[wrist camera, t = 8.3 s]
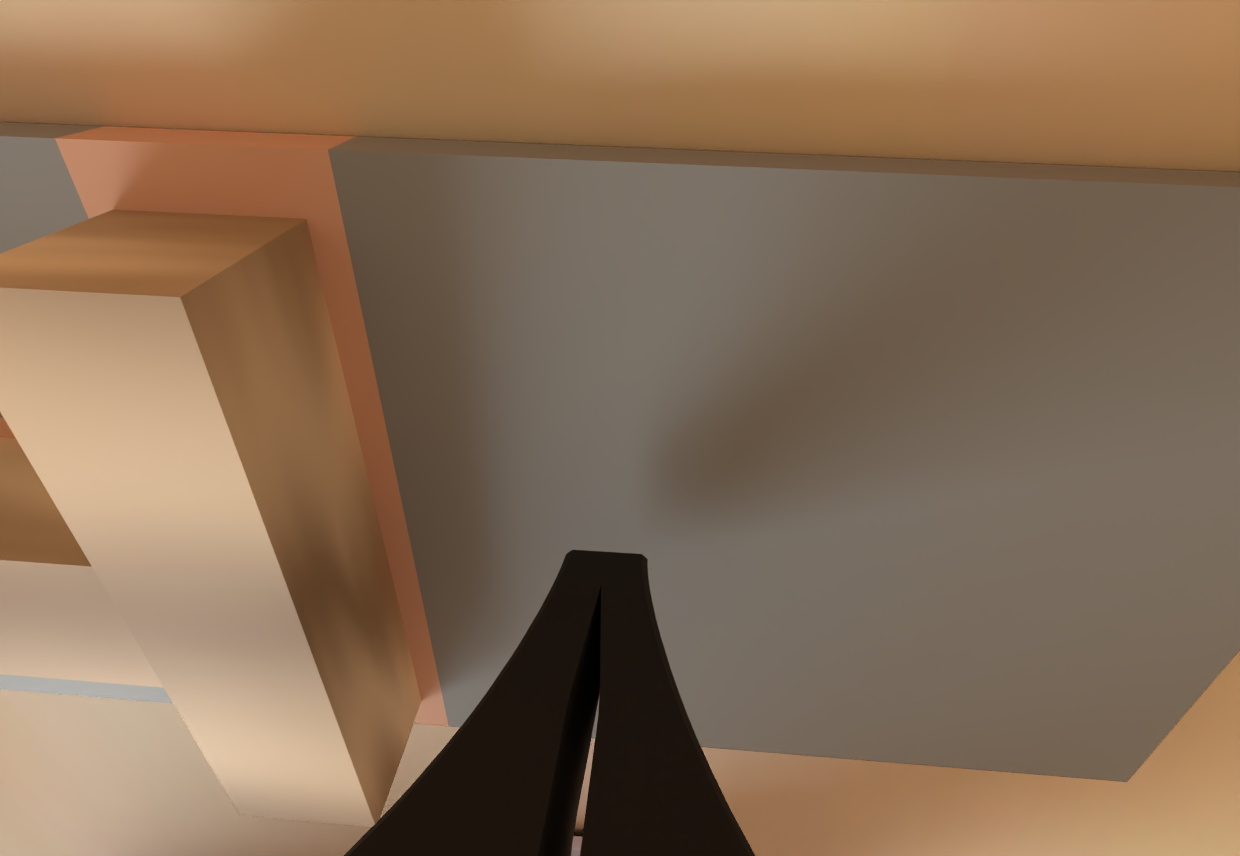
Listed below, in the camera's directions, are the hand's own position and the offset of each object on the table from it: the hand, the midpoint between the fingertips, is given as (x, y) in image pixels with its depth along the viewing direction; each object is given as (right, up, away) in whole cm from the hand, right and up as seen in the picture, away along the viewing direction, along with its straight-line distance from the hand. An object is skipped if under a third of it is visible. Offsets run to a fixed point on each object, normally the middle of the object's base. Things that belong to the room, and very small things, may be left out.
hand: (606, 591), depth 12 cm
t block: (-10, +1, +2) cm, 10 cm away
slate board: (-3, +2, +2) cm, 4 cm away
